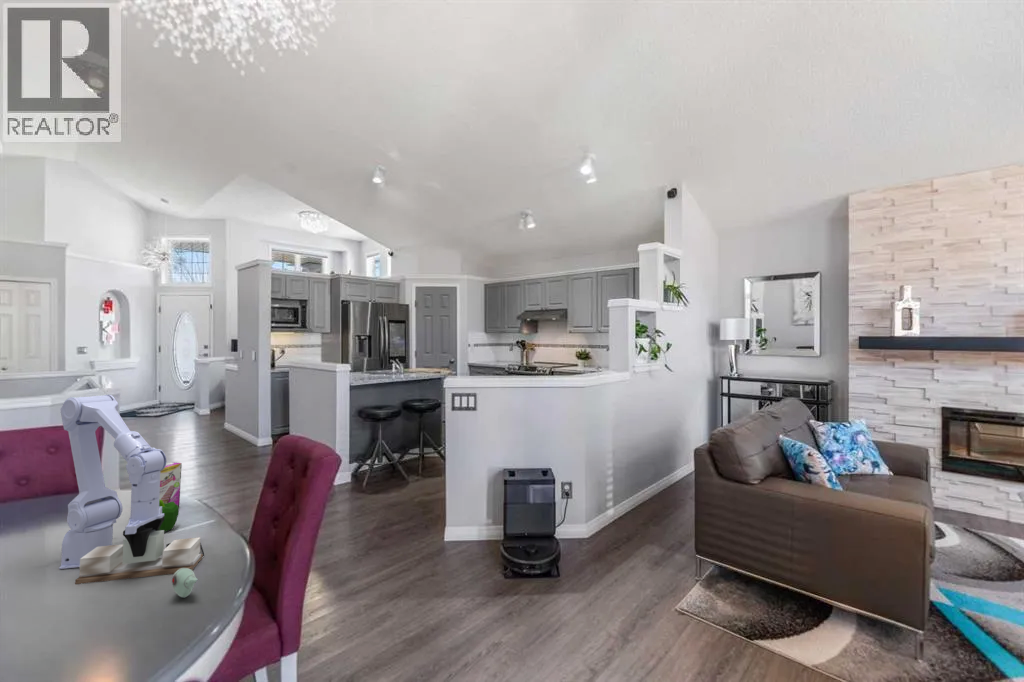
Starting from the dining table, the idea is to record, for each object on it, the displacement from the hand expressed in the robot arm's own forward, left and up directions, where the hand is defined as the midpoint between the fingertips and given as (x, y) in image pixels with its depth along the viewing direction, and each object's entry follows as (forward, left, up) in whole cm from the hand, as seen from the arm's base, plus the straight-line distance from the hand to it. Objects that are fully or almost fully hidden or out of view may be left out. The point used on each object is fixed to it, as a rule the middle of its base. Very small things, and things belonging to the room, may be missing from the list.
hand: (143, 551), depth 116 cm
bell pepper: (-7, +29, -5) cm, 30 cm away
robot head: (+15, -17, -5) cm, 24 cm away
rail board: (0, 0, -5) cm, 5 cm away
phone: (+6, +10, -5) cm, 12 cm away
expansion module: (0, 0, -2) cm, 2 cm away
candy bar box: (-14, +46, -5) cm, 48 cm away
